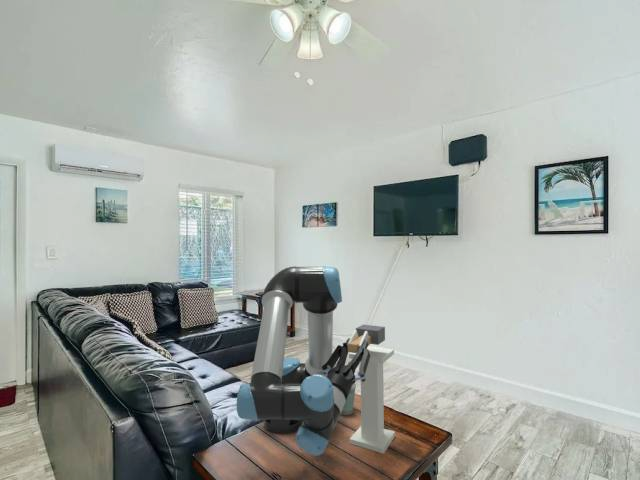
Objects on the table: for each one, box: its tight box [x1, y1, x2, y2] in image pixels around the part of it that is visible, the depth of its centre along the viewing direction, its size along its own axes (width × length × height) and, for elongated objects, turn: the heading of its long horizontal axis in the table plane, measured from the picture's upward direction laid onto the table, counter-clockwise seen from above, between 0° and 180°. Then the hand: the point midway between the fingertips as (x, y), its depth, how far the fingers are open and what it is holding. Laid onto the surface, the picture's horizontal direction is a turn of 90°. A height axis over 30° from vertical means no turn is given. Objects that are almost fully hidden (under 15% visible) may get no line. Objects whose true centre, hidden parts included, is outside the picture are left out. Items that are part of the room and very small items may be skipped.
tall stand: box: [348, 345, 396, 455], centre depth 117 cm, size 12×12×30 cm
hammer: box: [348, 324, 386, 353], centre depth 111 cm, size 19×8×4 cm, turn 151°
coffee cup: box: [340, 382, 357, 416], centre depth 138 cm, size 8×8×12 cm
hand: (361, 333), depth 109 cm, fingers closed on hammer, 3 cm apart
